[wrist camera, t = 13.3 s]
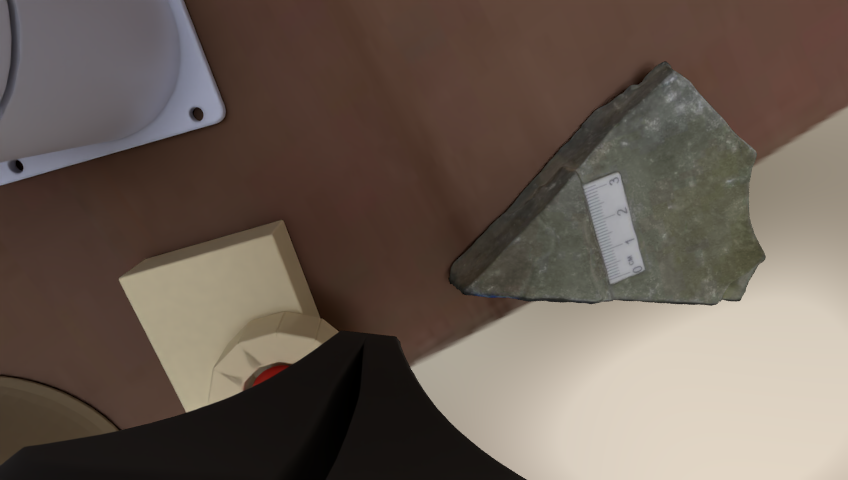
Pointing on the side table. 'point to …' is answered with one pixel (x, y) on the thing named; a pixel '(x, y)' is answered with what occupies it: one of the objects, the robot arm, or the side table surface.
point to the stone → (629, 210)
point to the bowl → (43, 416)
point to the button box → (226, 312)
